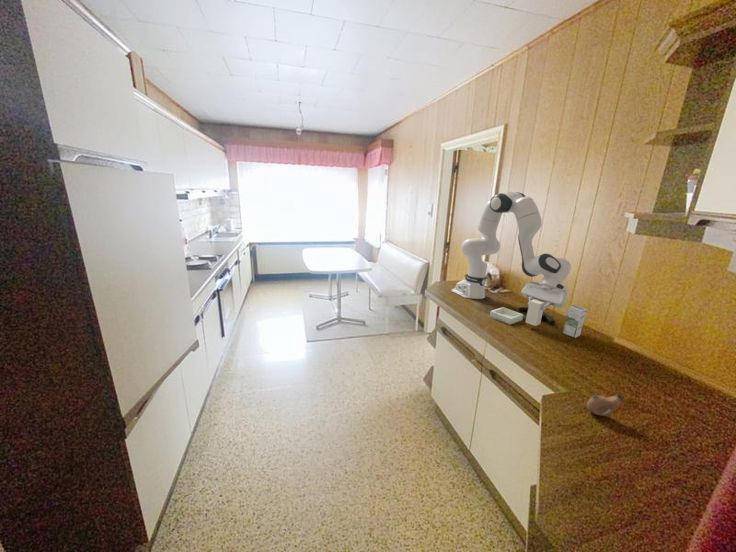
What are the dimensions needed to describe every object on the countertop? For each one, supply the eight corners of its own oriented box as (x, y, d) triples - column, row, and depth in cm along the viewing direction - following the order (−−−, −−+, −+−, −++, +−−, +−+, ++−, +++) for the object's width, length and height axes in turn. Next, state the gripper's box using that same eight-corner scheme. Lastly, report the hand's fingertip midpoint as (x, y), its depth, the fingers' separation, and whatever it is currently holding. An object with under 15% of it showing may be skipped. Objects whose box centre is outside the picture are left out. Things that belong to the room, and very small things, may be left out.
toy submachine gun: (526, 319, 152) (558, 320, 150) (512, 305, 171) (540, 306, 169) (525, 325, 152) (557, 325, 151) (511, 310, 172) (539, 311, 170)
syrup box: (580, 335, 140) (587, 308, 136) (574, 338, 137) (581, 310, 133) (567, 330, 145) (574, 304, 141) (561, 333, 142) (568, 306, 138)
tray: (489, 316, 159) (490, 310, 158) (501, 312, 165) (502, 306, 164) (509, 325, 149) (510, 318, 148) (522, 320, 156) (523, 314, 155)
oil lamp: (613, 412, 90) (620, 391, 88) (621, 422, 86) (629, 400, 84) (582, 408, 91) (588, 387, 89) (589, 417, 87) (596, 396, 85)
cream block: (525, 322, 147) (529, 300, 143) (530, 320, 149) (534, 299, 146) (535, 326, 143) (539, 304, 139) (540, 323, 146) (545, 302, 142)
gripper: (527, 277, 152) (514, 297, 150) (570, 288, 136) (555, 311, 133) (530, 284, 156) (517, 303, 153) (572, 295, 139) (558, 317, 137)
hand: (535, 307), depth 143 cm, fingers closed on cream block, 5 cm apart
